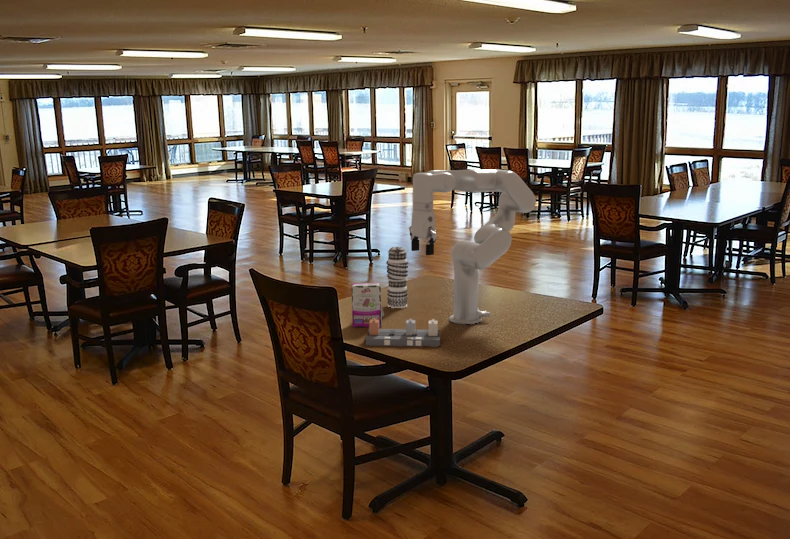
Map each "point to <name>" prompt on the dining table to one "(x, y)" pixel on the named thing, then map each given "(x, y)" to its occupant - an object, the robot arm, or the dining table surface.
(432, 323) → the slider ivory
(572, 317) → the dining table surface
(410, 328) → the slider grey
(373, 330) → the slider rust
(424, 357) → the dining table surface
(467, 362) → the dining table surface
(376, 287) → the candy bar box
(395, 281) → the decorative candle
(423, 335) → the switch unit
